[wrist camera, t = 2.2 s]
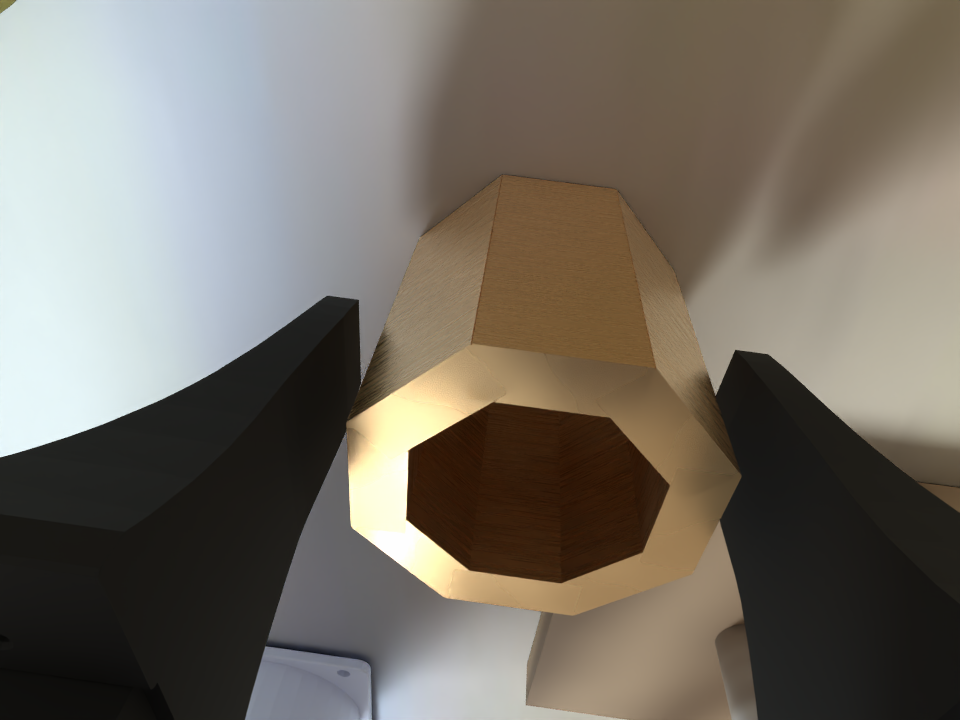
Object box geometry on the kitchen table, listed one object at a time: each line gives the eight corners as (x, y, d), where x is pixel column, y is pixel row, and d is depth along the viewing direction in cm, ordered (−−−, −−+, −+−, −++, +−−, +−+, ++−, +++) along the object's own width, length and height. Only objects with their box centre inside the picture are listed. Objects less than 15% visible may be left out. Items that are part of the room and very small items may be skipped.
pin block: (527, 664, 24) (520, 858, 19) (590, 437, 17) (605, 656, 12) (841, 709, 24) (915, 916, 19) (1043, 499, 16) (1247, 747, 12)
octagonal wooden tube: (413, 379, 16) (353, 584, 11) (421, 164, 13) (342, 326, 8) (630, 408, 16) (664, 628, 11) (697, 199, 13) (787, 385, 8)
